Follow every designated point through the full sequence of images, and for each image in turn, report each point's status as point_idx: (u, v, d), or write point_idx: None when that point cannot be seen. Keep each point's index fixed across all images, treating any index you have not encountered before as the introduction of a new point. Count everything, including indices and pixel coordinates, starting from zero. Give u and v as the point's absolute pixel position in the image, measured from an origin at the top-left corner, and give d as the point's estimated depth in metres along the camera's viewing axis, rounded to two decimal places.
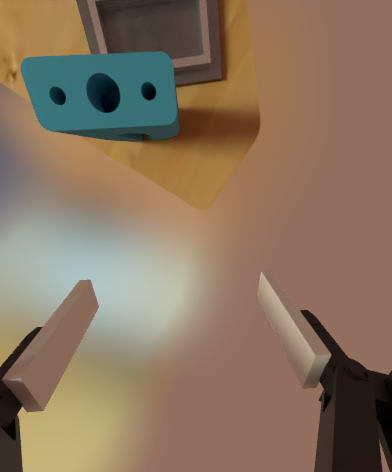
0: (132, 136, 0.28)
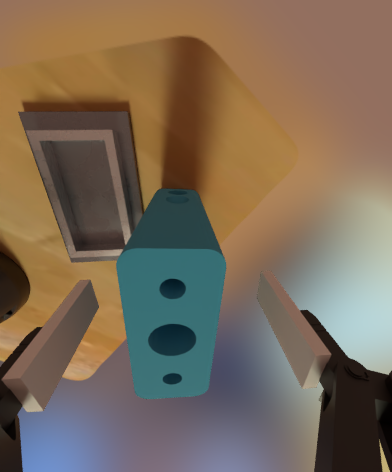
0: None
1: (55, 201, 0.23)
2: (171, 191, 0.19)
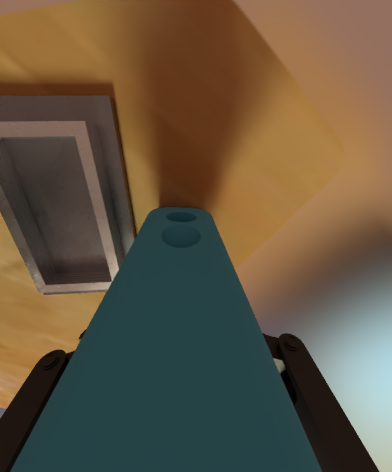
0: None
1: (12, 222, 0.17)
2: (171, 214, 0.13)
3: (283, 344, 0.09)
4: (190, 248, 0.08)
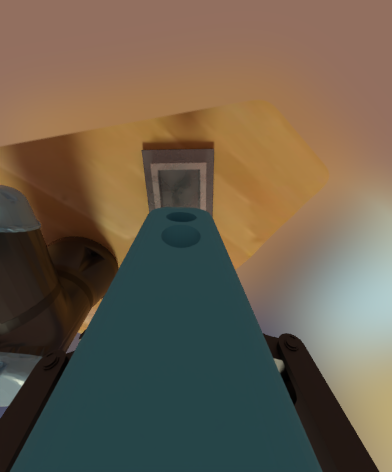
0: None
1: None
2: (171, 213, 0.13)
3: (283, 344, 0.09)
4: (190, 248, 0.08)
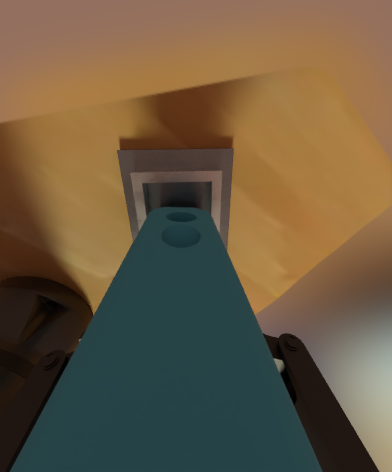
0: None
1: None
2: (171, 213, 0.13)
3: (283, 344, 0.09)
4: (190, 248, 0.08)
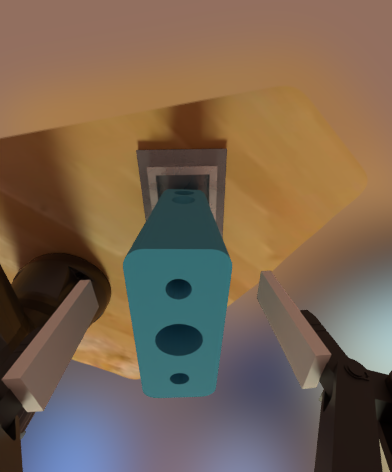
0: None
1: None
2: (177, 191, 0.19)
3: None
4: (188, 204, 0.15)
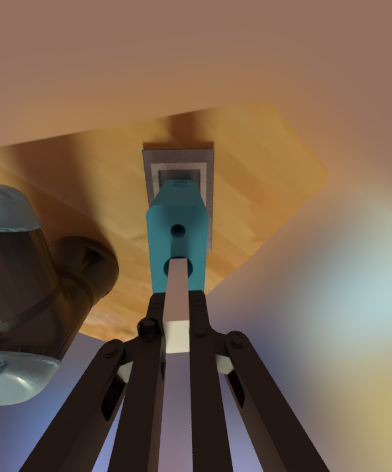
0: None
1: None
2: (175, 181, 0.26)
3: (229, 343, 0.09)
4: (183, 187, 0.21)
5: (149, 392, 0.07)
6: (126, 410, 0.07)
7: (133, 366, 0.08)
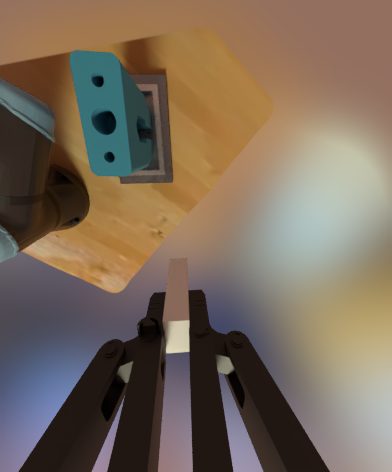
0: (145, 139, 0.33)
1: None
2: None
3: (229, 343, 0.09)
4: None
5: (149, 392, 0.07)
6: (126, 410, 0.07)
7: (133, 366, 0.08)
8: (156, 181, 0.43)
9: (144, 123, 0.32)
